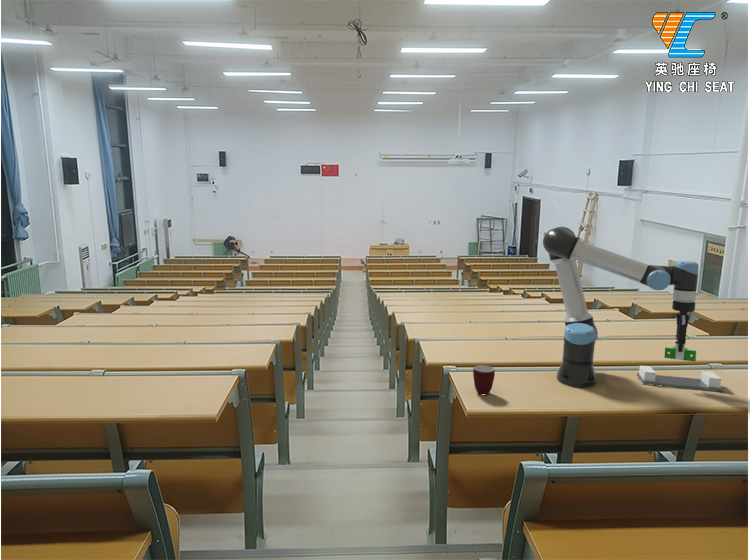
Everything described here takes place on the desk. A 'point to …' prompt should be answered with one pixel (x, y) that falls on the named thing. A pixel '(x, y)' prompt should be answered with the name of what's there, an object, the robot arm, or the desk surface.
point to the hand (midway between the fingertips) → (678, 357)
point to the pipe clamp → (686, 354)
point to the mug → (483, 378)
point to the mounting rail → (681, 380)
